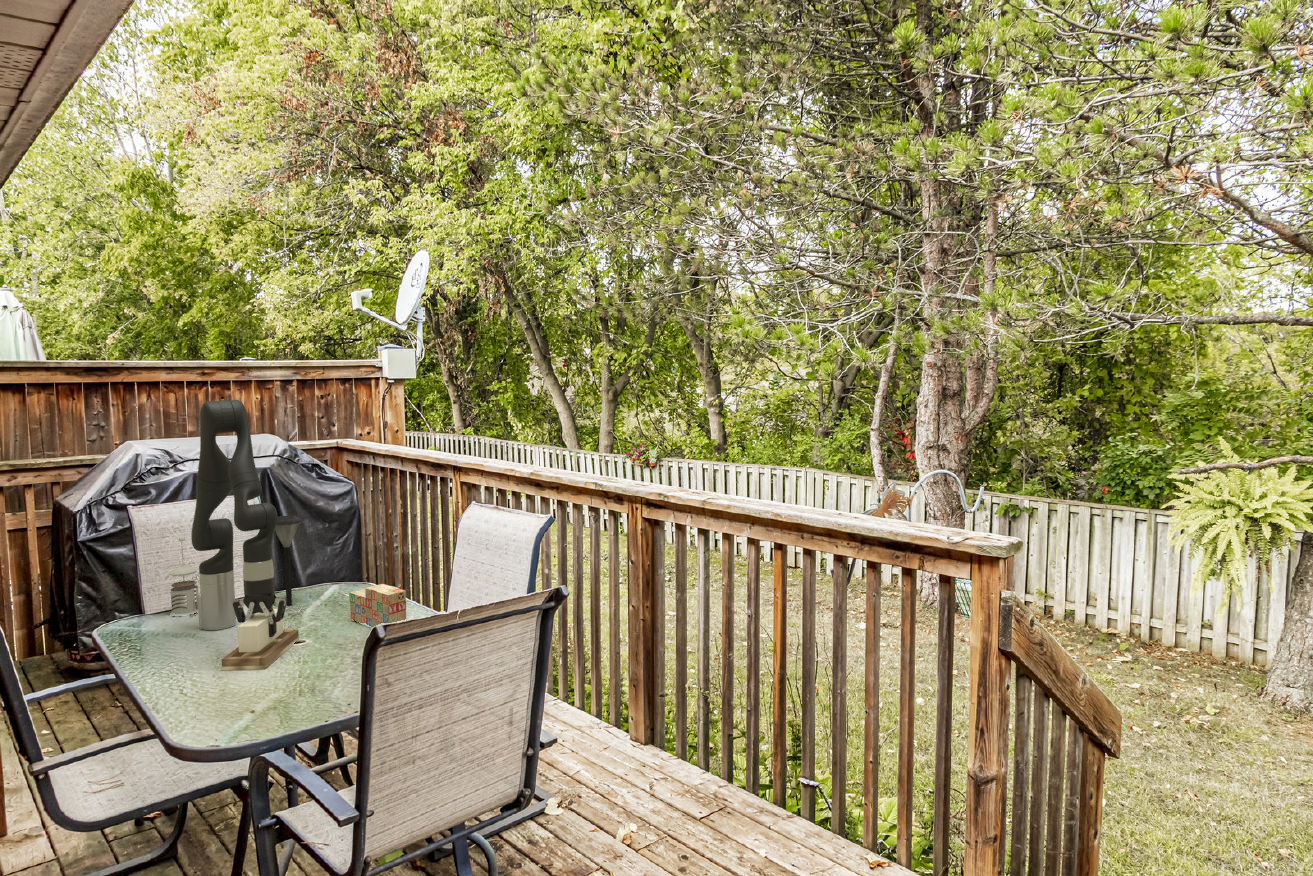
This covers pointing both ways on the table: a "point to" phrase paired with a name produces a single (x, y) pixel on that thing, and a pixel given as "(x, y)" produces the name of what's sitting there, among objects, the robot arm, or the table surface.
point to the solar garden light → (287, 546)
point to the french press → (184, 590)
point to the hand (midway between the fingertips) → (261, 636)
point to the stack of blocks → (378, 605)
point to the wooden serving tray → (260, 653)
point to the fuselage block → (256, 633)
